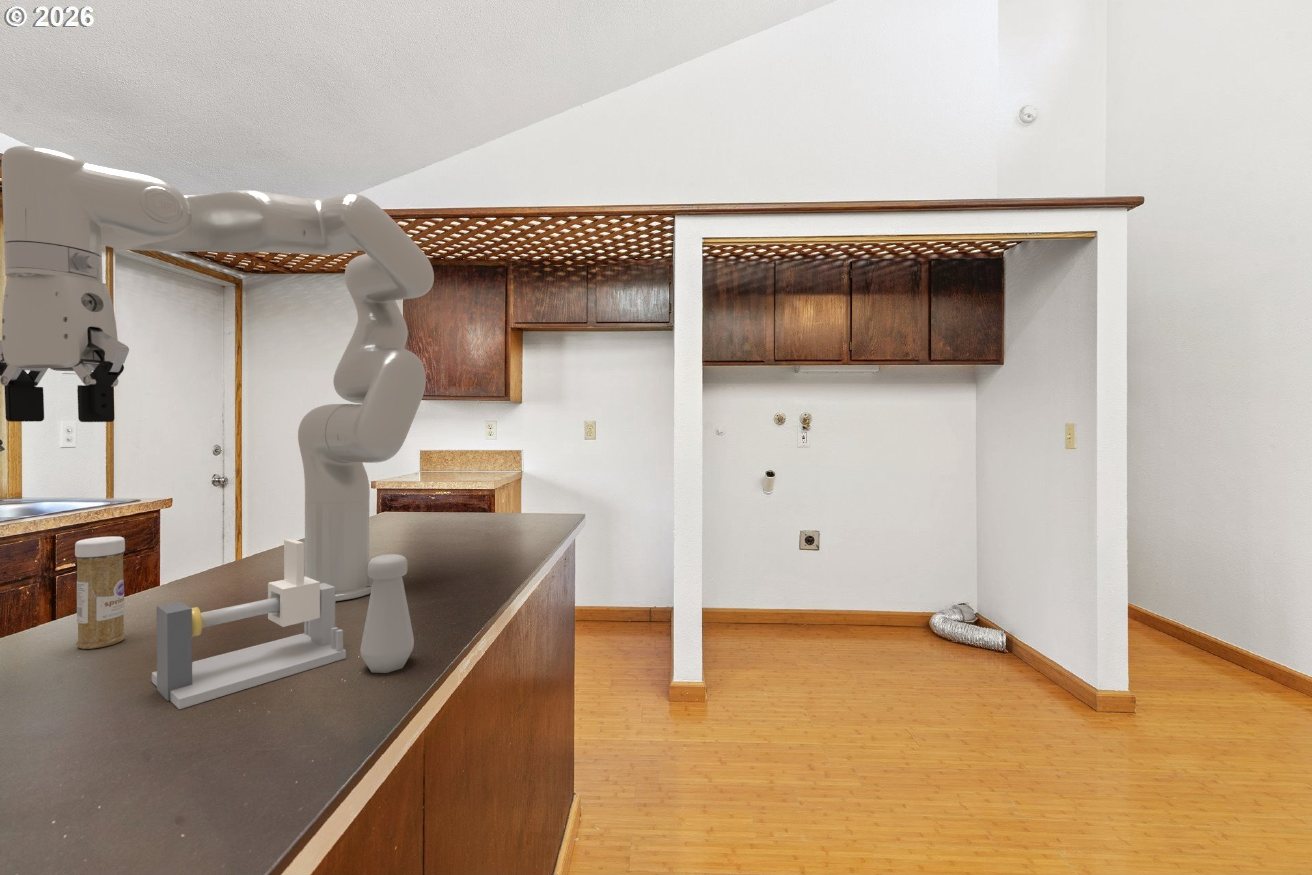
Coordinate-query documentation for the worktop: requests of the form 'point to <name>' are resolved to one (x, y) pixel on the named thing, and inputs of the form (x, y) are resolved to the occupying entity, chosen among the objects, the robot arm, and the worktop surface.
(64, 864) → the worktop surface
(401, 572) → the salt shaker
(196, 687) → the slider rail rig
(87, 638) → the sprinkles bottle
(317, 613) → the square collar block
